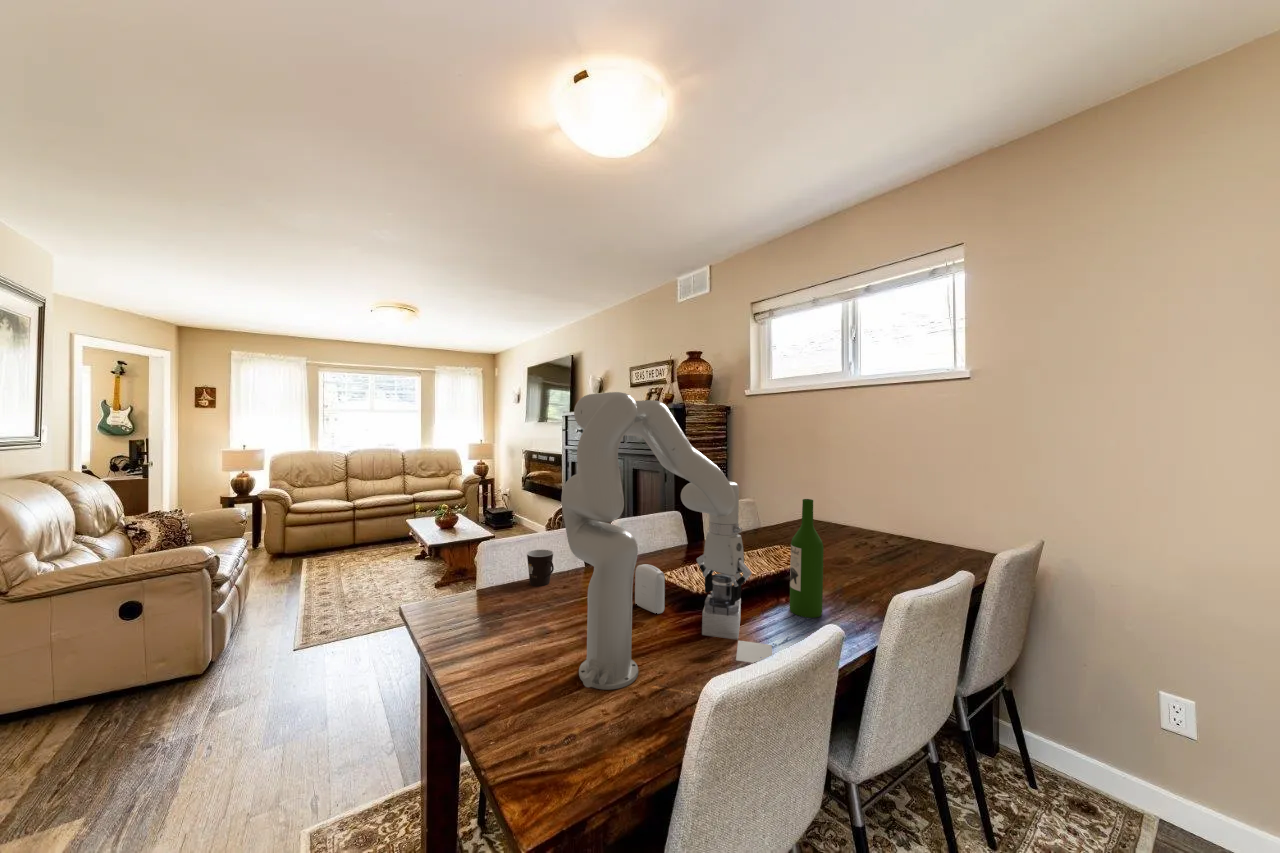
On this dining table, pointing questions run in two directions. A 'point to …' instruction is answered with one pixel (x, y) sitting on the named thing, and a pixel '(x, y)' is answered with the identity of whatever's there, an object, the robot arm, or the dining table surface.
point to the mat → (752, 651)
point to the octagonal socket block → (721, 619)
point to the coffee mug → (540, 567)
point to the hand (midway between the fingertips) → (722, 595)
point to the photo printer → (650, 588)
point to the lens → (721, 590)
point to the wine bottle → (806, 567)
